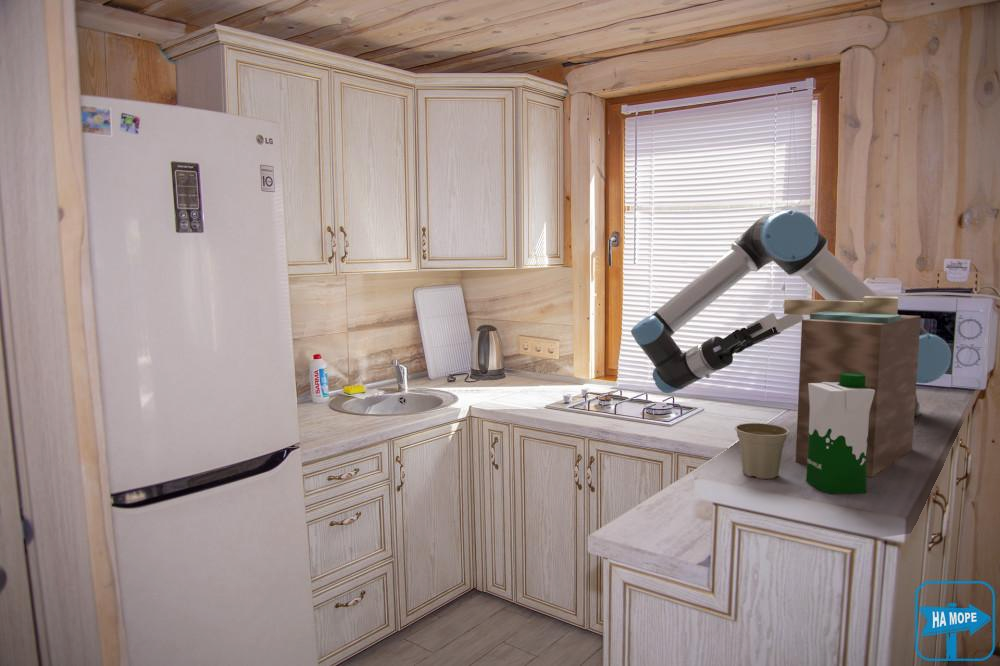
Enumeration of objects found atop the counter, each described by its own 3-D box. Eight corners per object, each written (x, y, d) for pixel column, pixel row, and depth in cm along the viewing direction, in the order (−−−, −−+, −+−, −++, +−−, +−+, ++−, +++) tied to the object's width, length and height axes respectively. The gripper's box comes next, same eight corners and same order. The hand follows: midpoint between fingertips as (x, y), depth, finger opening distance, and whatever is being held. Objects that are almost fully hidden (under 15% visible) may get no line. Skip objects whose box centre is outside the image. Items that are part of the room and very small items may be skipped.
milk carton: (874, 494, 121) (881, 378, 118) (823, 496, 120) (829, 379, 118) (845, 478, 129) (851, 369, 127) (797, 479, 129) (802, 370, 126)
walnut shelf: (795, 461, 140) (802, 314, 137) (841, 437, 158) (848, 307, 155) (872, 477, 130) (881, 319, 127) (912, 449, 149) (920, 311, 146)
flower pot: (761, 485, 126) (763, 437, 125) (722, 471, 134) (723, 426, 133) (798, 477, 130) (800, 431, 129) (758, 464, 138) (760, 420, 137)
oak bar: (782, 314, 150) (783, 295, 150) (787, 312, 155) (788, 294, 155) (896, 318, 140) (897, 298, 139) (897, 316, 145) (898, 296, 144)
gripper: (741, 365, 178) (818, 327, 164) (690, 377, 160) (772, 336, 146) (727, 338, 180) (803, 298, 166) (676, 347, 162) (755, 304, 148)
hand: (788, 316), depth 156 cm, fingers open, 13 cm apart
